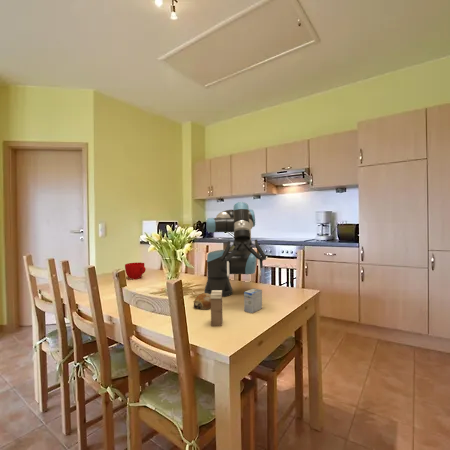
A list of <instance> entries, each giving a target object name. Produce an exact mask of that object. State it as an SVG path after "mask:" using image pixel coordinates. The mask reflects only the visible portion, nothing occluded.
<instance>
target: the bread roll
mask: <svg viewBox="0 0 450 450" xmlns="http://www.w3.org/2000/svg"><path fill="white" fill-rule="evenodd" d="M193 307H194V308H195V309H196V310H200V311H201V310H204V311H207V310H211V294H208V293H205V292H203V293H200V294H199V295H198V296H196V297H195V299H194V300H193Z"/></svg>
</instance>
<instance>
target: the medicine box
mask: <svg viewBox="0 0 450 450" xmlns="http://www.w3.org/2000/svg"><path fill="white" fill-rule="evenodd" d="M243 302H244V303H243V306H244V307H243V309H244V312H246V313H249V314H253V313H256V312H258V311H260V310H261V309H262V308H263V289H259V288H252V289H248V290H246V291H244V292H243Z"/></svg>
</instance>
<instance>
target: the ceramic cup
mask: <svg viewBox="0 0 450 450" xmlns="http://www.w3.org/2000/svg"><path fill="white" fill-rule="evenodd" d="M124 269H125V274H126V276H127V277H128V278H129V280H139V279H140V278H141V277H143V274H144V273H145V272H146V269H147V268H146V267H145V262H130V263H126V264H124Z"/></svg>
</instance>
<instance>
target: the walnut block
mask: <svg viewBox="0 0 450 450" xmlns="http://www.w3.org/2000/svg"><path fill="white" fill-rule="evenodd" d="M210 326H211V327H223V297H222V290H212V292H211V309H210Z"/></svg>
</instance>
